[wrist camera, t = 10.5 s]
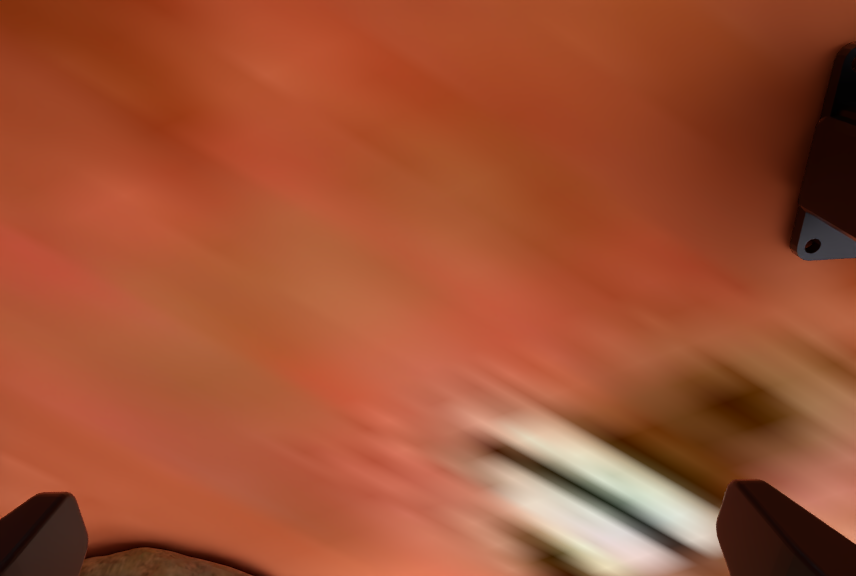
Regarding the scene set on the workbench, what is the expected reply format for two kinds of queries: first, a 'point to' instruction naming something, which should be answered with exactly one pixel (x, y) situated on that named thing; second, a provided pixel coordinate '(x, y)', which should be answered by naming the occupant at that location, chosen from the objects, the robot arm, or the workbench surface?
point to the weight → (153, 565)
